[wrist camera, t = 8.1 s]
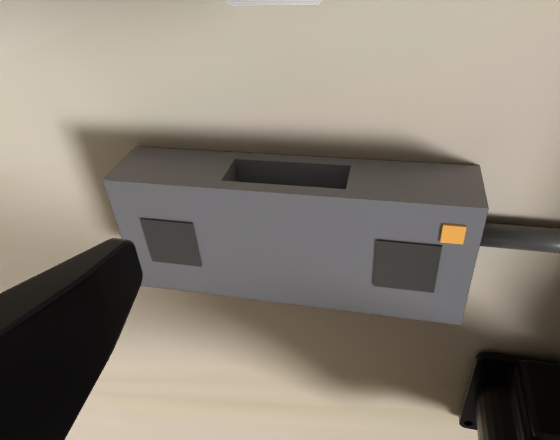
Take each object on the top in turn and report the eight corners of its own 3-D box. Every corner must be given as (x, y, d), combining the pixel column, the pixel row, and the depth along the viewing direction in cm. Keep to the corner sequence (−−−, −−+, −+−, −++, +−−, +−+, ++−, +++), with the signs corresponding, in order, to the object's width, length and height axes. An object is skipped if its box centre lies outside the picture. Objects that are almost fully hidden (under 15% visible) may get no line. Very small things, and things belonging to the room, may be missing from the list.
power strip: (611, 293, 21) (636, 349, 18) (162, 246, 26) (136, 286, 23) (668, 175, 17) (709, 226, 15) (135, 146, 22) (101, 181, 20)
